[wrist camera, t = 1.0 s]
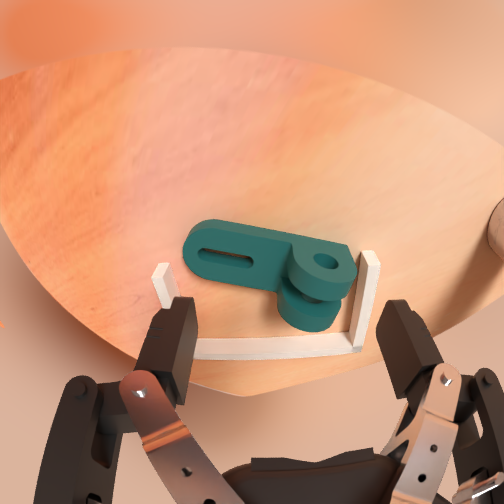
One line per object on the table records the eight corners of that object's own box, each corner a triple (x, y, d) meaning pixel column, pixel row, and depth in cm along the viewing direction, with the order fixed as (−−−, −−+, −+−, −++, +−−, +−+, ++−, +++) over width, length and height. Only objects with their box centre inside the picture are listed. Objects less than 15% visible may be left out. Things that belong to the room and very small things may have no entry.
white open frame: (373, 250, 31) (380, 264, 29) (357, 336, 39) (360, 351, 37) (159, 263, 34) (151, 277, 31) (189, 344, 42) (185, 358, 39)
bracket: (346, 244, 31) (364, 287, 25) (327, 288, 35) (338, 335, 28) (189, 213, 30) (168, 252, 24) (186, 263, 34) (168, 307, 27)
